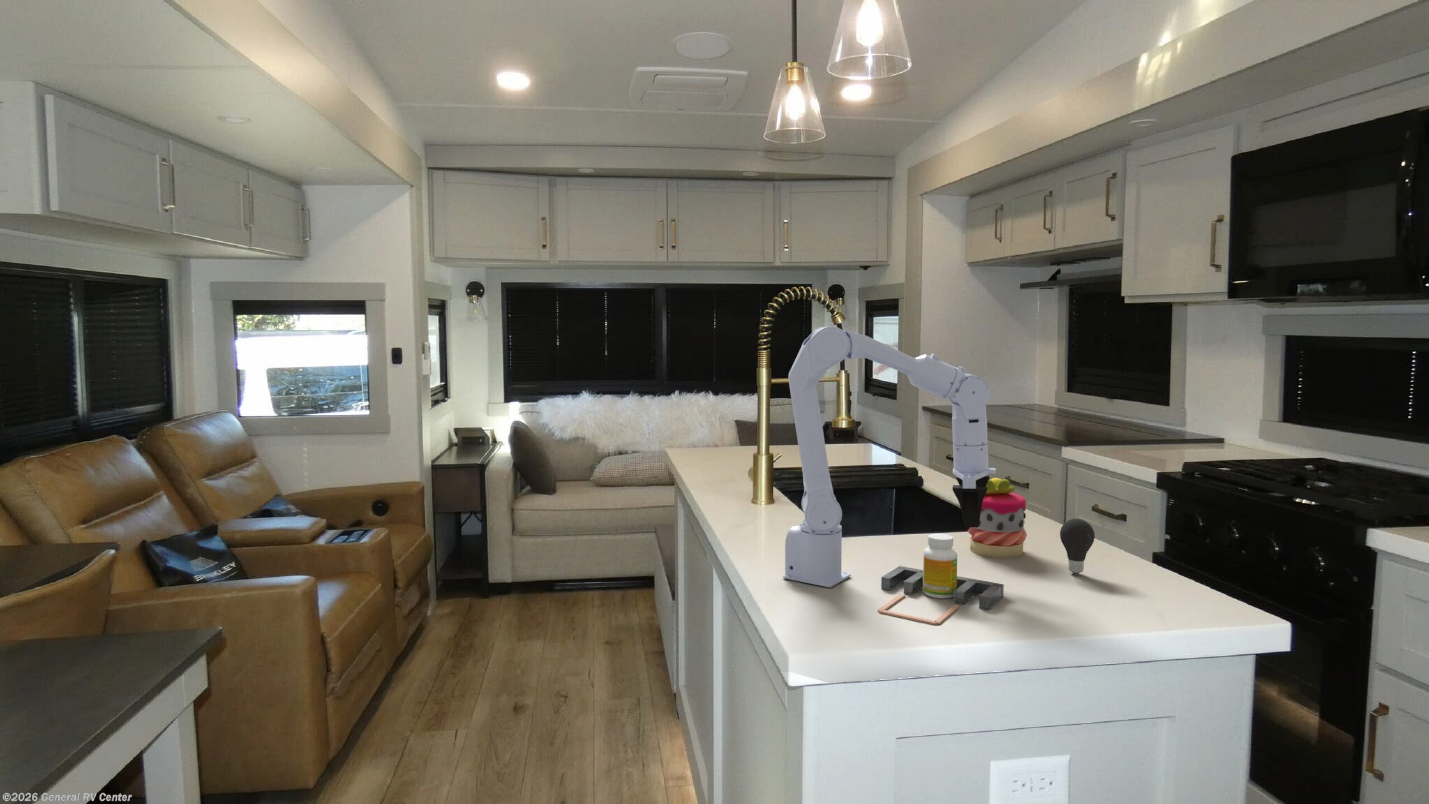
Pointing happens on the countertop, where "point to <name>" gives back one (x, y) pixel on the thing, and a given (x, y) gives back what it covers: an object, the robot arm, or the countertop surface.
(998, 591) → the rail
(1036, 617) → the countertop surface
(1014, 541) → the cake
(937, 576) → the supplement bottle
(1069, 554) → the light bulb
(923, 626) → the countertop surface
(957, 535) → the countertop surface
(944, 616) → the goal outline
